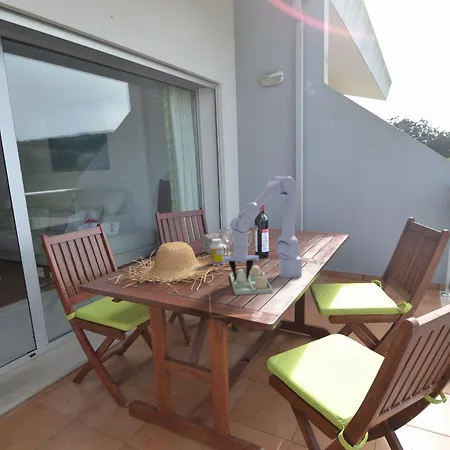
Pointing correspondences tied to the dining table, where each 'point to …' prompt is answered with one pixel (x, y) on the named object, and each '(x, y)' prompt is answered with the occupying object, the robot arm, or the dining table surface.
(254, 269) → the tan egg
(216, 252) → the supplement bottle
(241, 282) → the cream egg
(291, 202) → the robot arm
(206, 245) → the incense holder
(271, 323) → the dining table surface
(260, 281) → the tan egg
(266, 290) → the egg tray
